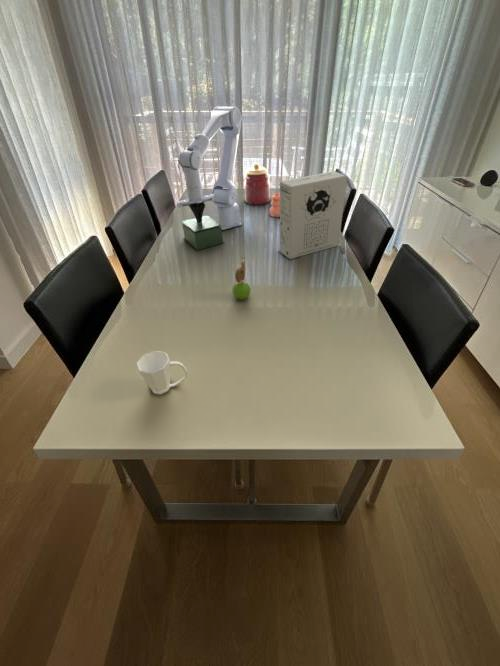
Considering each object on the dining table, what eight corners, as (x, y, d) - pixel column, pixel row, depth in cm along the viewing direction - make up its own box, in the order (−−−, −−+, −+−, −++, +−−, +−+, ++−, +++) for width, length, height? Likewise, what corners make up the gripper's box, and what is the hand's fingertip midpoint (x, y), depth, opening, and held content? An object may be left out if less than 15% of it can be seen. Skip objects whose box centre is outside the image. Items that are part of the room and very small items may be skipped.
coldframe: (184, 238, 141) (181, 221, 136) (209, 232, 145) (207, 215, 140) (197, 250, 132) (194, 231, 127) (222, 242, 136) (221, 224, 131)
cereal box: (327, 238, 133) (333, 170, 118) (339, 245, 128) (347, 175, 112) (279, 251, 127) (279, 181, 111) (289, 259, 121) (291, 186, 106)
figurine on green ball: (254, 292, 105) (252, 257, 98) (247, 303, 101) (245, 267, 93) (238, 290, 107) (235, 255, 99) (230, 301, 102) (226, 265, 95)
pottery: (306, 208, 161) (307, 187, 155) (310, 215, 154) (311, 193, 147) (268, 211, 160) (268, 190, 154) (271, 218, 153) (270, 196, 147)
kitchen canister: (243, 205, 170) (240, 167, 158) (247, 196, 179) (245, 160, 168) (268, 205, 168) (268, 166, 156) (271, 196, 177) (271, 160, 166)
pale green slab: (182, 222, 136) (181, 221, 136) (207, 216, 140) (207, 215, 140) (188, 227, 132) (187, 226, 132) (213, 221, 136) (213, 220, 136)
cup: (147, 377, 79) (138, 352, 74) (190, 372, 79) (184, 347, 74) (143, 401, 73) (133, 375, 68) (189, 395, 74) (182, 369, 69)
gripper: (179, 192, 121) (185, 229, 129) (216, 185, 126) (219, 220, 135) (172, 188, 126) (179, 223, 134) (208, 181, 131) (212, 215, 139)
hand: (199, 222), depth 135 cm, fingers closed, pressing on pale green slab
